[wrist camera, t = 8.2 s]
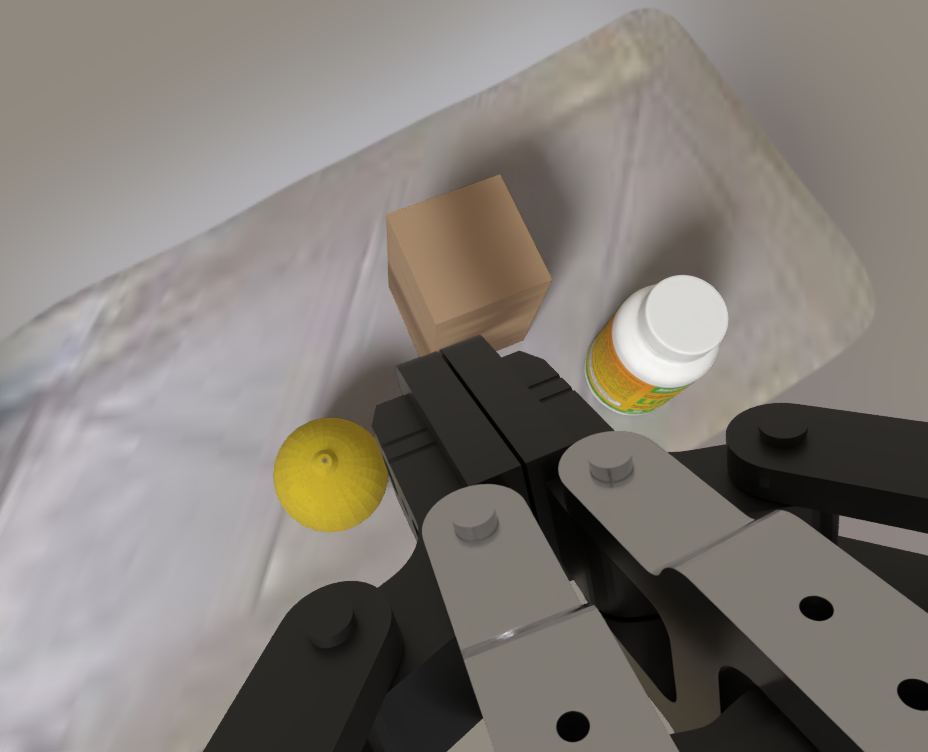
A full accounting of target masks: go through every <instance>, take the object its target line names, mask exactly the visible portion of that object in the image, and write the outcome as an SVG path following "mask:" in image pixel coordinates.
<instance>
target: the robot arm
mask: <svg viewBox="0 0 928 752" xmlns="http://www.w3.org/2000/svg"><path fill="white" fill-rule="evenodd" d="M395 371H396V375H397V379H398V382H399V385H400V388H401V391H402V395H403V396H400V397H398V398H395V399H392V400H390V401H387V402H385V403H382V404H379V405H377V406H376V410H375V415H374V419H373V423H372V428H373V431H374V434H375V437H376V440H377V443H378V445H379V448H380V451H381V454H382V457H383V460H384V463H385V465H386V468H387V471H388V474H389V477H390V480H391V483H392V485H393V488H394V491H395V494H396V497H397V499H398V501H399V504H400V506H401V508H402V510H403V512H404V515H405V517H406V519H407V521H408V523H409V526H410V528H411V530H412V532H413V534H414V536H415V539H416V541H417V544H416V547H415V550H414V552H413V554H412V556H411V557H410V559H409V560H408V561H407V563H406V564H405V565H404V566H403V567H402V568H401V569H400V570H399V571H398V572H397V573H396V574H395V575H394V576H393V577H391V578H390V579H389V580H387V581H386V582H385V583H383V584H382V585H381V586H380V587H378V588H376V587H375V586H373V585H371V584H368V583H365V582H359V581H344V582H337V583H333V584H329V585H327V586H324V587H321V588H319V589H317V590H315V591H313V592H311V593H310V594H308V595H307V596H305V597H304V598H302V599H301V600H300V601H299V602H298V603H297V604H295V605H294V606H293V607H292V608H291V610H290V611H289V612H288V613H287V614H286V616H285V617H284V619H283V620H282V621H281V623H280V625H279V626H278V628H277V630H276V631H275V633H274V635H273V636H272V638H271V640H270V641H269V643H268V645H267V646H266V648H265V650H264V651H263V653H262V655H261V656H260V658H259V660H258V661H257V663H256V665H255V666H254V668H253V670H252V671H251V673H250V674H249V676H248V678H247V679H246V681H245V683H244V684H243V686H242V688H241V689H240V691H239V693H238V694H237V696H236V698H235V699H234V701H233V703H232V704H231V706H230V708H229V709H228V711H227V713H226V714H225V716H224V718H223V719H222V721H221V723H220V724H219V726H218V728H217V729H216V731H215V733H214V734H213V736H212V738H211V739H210V741H209V743H208V744H207V746H206V747H205V749H204V751H203V752H447V751H448V750H449V749H450V748H451V747H452V746H453V745H454V744H455V743H456V742H458V741H459V740H460V739H461V738H462V737H463V736H464V735H465V734H466V733H467V732H469V730H471V729H472V728H473V727H474V726H475V725H476V724H477V723H478V722H479V721H480V720H481V719H484V722H485V724H486V727H487V731H488V733H489V736H490V739H491V742H492V745H493V748H494V751H495V752H928V556H927V555H923V554H918V553H914V552H909V551H905V550H900V549H896V548H891V547H887V546H882V545H878V544H873V543H869V542H864V541H859V540H855V539H851V538H846V537H842V536H838V529H839V515H841V516H846V517H851V518H856V519H860V520H866V521H870V522H875V523H879V524H885V525H889V526H894V527H899V528H904V529H909V530H914V531H918V532H923V533H928V422H922V421H914V420H907V419H900V418H893V417H886V416H879V415H872V414H865V413H857V412H850V411H843V410H836V409H828V408H822V407H814V406H807V405H800V404H791V403H772V404H764V405H760V406H756V407H753V408H750V409H748V410H746V411H743V412H742V413H740V414H739V415H737V416H736V417H735V418H734V419H733V420H732V421H731V422H730V424H729V425H728V427H727V430H726V444H725V445H719V446H713V447H708V448H701V449H695V450H689V451H682V452H666V451H665V450H664V449H663V448H661V447H660V446H659V445H658V444H656V443H655V442H654V441H652V440H651V439H649V438H647V437H645V436H643V435H640V434H636V433H632V432H626V431H614V430H613V429H612V428H611V427H610V426H609V425H608V424H607V423H606V422H605V421H604V420H603V419H602V417H601V416H600V415H599V414H598V413H597V412H596V411H595V410H594V409H593V408H592V407H591V406H590V405H589V404H588V403H587V402H586V401H585V400H584V399H583V398H582V397H581V396H580V395H579V394H578V393H577V392H576V391H575V390H574V391H573V390H572V388H571V386H570V385H569V384H568V383H567V382H566V381H565V380H564V379H563V378H560V376H559V374H558V373H557V372H556V371H555V370H554V369H553V368H552V367H551V366H550V365H549V364H548V363H547V362H546V361H545V360H544V359H541V358H538V357H536V356H533V355H530V354H527V353H525V352H522V351H517V352H515V353H512V354H510V355H507V356H504V357H502V358H501V357H500V356H499V354H498V353H497V352H496V351H495V350H494V349H493V348H492V347H491V345H490V344H489V343H488V342H487V341H486V340H485V339H484V337H482V336H481V335H477V336H475V337H472V338H469V339H466V340H464V341H461V342H458V343H456V344H453V345H450V346H448V347H445V348H442V349H440V350H439V353H438V352H437V351H435V352H432V353H430V354H427V355H424V356H422V357H419V358H416V359H414V360H411V361H408V362H405V363H403V364H400V365H397V366H395ZM572 580H574V581H575V583H576V584H577V585H578V587H579V588H580V590H581V591H582V593H583V598H584V602H585V604H584V605H582V603H581V602H580V600H579V598H578V597H577V595H576V593H575V591H574V589H573V587H572V586H571V584H570V582H569V581H572ZM648 697H649V698H650V700H651V701H652V702H653V703H654V705H655V706H656V707H657V708H658V710H659V711H660V712H661V714H662V715H663V716H664V717H665V719H666V720H667V721H668V723H669V724H670V726H671V727H672V729H673V731H674V734H669V733H668V731H667V729H666V728H665V726H664V724H663V722H662V721H661V719H660V717H659V716H658V714H657V712H656V710H655V708H654V707H653V705H652V703H651V701H650V700H649V698H648Z"/></svg>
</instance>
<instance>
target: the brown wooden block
mask: <svg viewBox="0 0 928 752" xmlns="http://www.w3.org/2000/svg"><path fill="white" fill-rule="evenodd" d="M386 224H387V251H388V278H389V289H390V291H391V293H392V295H393V298H394V300H395V302H396V305H397V307H398V309H399V311H400V314H401V316H402V318H403V320H404V323H405V325H406V327H407V330H408V332H409V334H410V336H411V339H412V341H413V343H414V346H415V348H416V350H417V352H418V355H419V357H422V356H424V355H427V354H430V353H432V352H435V351H437V352H438V353H439V350H440V349H442V348H445V347H448V346H450V345H453V344H456V343H458V342H461V341H464V340H466V339H469V338H472V337H475V336H477V335H481V336H482V337H484V339H485V340H486V341H487V342H488V343H489V344H490V345H491V347H492V348H493V349H494V350H495V351H498V350H500V349H503V348H505V347H508V346H510V345H513V344H515V343H518V342H520V341H523V340H524V338H525V336H526V334H527V332H528V329H529V327H530V325H531V323H532V321H533V319H534V317H535V315H536V313H537V311H538V309H539V307H540V304H541V302H542V300H543V298H544V296H545V294H546V292H547V290H548V288H549V286H550V284H551V282H552V278H551V276H550V274H549V272H548V270H547V268H546V266H545V264H544V262H543V260H542V258H541V256H540V254H539V252H538V250H537V248H536V246H535V244H534V242H533V240H532V237H531V235H530V233H529V231H528V229H527V227H526V225H525V223H524V221H523V219H522V217H521V215H520V213H519V211H518V209H517V207H516V205H515V203H514V201H513V199H512V197H511V195H510V193H509V191H508V189H507V187H506V185H505V183H504V181H503V179H502V177H501V175H500V174H499V175H496V176H494V177H491V178H488V179H485V180H482V181H480V182H477V183H474V184H471V185H468V186H465V187H463V188H460V189H457V190H454V191H451V192H448V193H446V194H443V195H440V196H437V197H434V198H431V199H429V200H426V201H423V202H420V203H417V204H414V205H412V206H409V207H406V208H403V209H400V210H397V211H395V212H392V213H389V214H386Z"/></svg>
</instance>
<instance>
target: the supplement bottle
mask: <svg viewBox="0 0 928 752" xmlns="http://www.w3.org/2000/svg"><path fill="white" fill-rule="evenodd" d="M727 327H728V311H727V307H726V304H725V302H724V300H723V298H722V297H721V295H720V294H719V292H718V291H717V290H716V289H715V288H714V287H713V286H712V285H710V284H709V283H707V282H706V281H704V280H702V279H700V278H697V277H694V276H690V275H676V276H671V277H668V278H666V279H664V280H662V281H660V282H659V283H658V284H655V285H650V286H647V287H644V288H642V289H640V290H638V291H636V292H635V293H633V294H632V295H631V296H629V297H628V298H627V299H626V300H625V301H624V303H623V304H622V305H621V306H620V307H619V309H618V310H617V311H616V313H615V314H614V315H613V317H612V318H611V319H610V321H609V322H608V323H607V324H606V326H605V327H604V328H603V330H602V331H601V332H600V333H599V335H598V336H597V337H596V339H595V340H594V341H593V343H592V345H591V346H590V348H589V350H588V352H587V355H586V359H585V377H586V381H587V384H588V386H589V388H590V390H591V392H592V393H593V395H594V396H595V397H596V399H597V400H598V401H599V402H600V403H601V404H603V405H604V406H606V407H607V408H609V409H610V410H612V411H614V412H617V413H620V414H624V415H642V414H646V413H649V412H652V411H654V410H656V409H657V408H659V407H660V406H662V405H663V404H665V403H666V402H667V401H669V400H670V399H672V398H673V397H674V396H676V395H677V394H679V393H680V392H682V391H683V390H684V389H685V388H687V387H688V386H690V385H691V384H692V383H694V382H695V381H696V380H698V379H699V378H700V377H701V376H703V375H704V374H705V373H706V372H707V371H708V370H709V369H710V367H711V366H712V365H713V363H714V361H715V359H716V357H717V354H718V351H719V347H720V342H721V340H722V339H723V337H724V335H725V333H726V330H727Z"/></svg>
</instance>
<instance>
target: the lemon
mask: <svg viewBox="0 0 928 752" xmlns="http://www.w3.org/2000/svg"><path fill="white" fill-rule="evenodd" d="M273 479H274V485H275V491H276V494H277V496H278V498H279V501H280V503H281V505H282V506H283V508H284V509H285V510H286V511H287V513H288V514H289V515H290V516H291V517H292V518H293V519H295V520H296V521H297V522H299V523H300V524H301V525H303V526H306V527H308V528H311V529H313V530H316V531H324V532H337V531H343V530H347V529H349V528H352V527H354V526H357V525H359V524H360V523H361V522H363V521H364V520H366V519H367V518H368V517H370V516H371V514H372V513H373V512H374V511H375V510H376V508H377V507H378V506H379V504H380V502H381V500H382V498H383V496H384V494H385V490H386V485H387V480H388V471H387V468H386V465H385V463H384V460H383V457H382V454H381V451H380V448H379V445H378V443H377V440H376V439H375V437H373V436H372V435H371V434H370V433H369V432H368V431H367V430H366V429H365V428H364V427H362V426H360V425H358V424H356V423H354V422H352V421H349V420H345V419H341V418H321V419H317V420H313V421H310V422H308V423H306V424H304V425H302V426H300V427H298V428H297V429H296V430H295V431H294V432H293V433H292V434H290V435H289V436H288V437H287V439H286V440H285V442H284V443H283V445H282V446H281V448H280V449H279V452H278V455H277V457H276V460H275V465H274V474H273Z"/></svg>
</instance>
